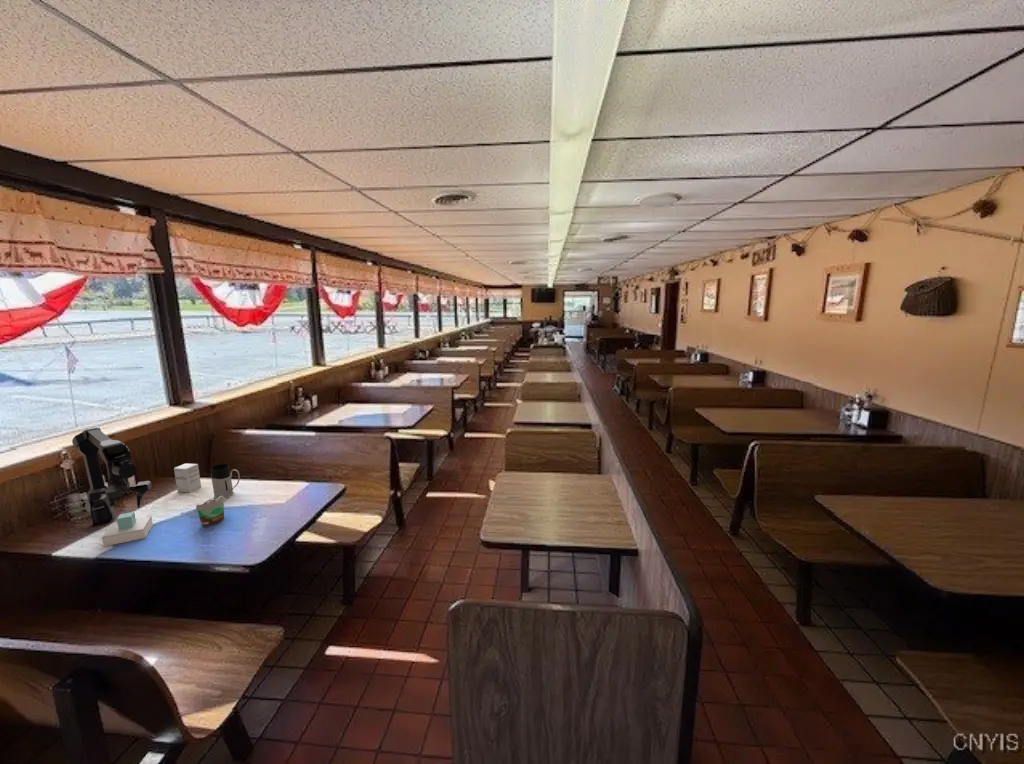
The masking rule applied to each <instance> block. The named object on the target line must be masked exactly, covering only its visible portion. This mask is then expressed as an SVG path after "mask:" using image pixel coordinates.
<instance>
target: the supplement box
mask: <svg viewBox="0 0 1024 764" xmlns="http://www.w3.org/2000/svg"><path fill="white" fill-rule="evenodd" d="M173 470H174V471H173V472H174V477H175V483H176V490H177V492H179V493H180V492H181V493H182V492H183V493H185V492H186V493H191V492H194V491H196V490H198V489H200V488H202V483H201V476H200V469H199V464H198V463H183V464H181V465H178V466H175V467H174V468H173Z"/></svg>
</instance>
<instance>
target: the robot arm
mask: <svg viewBox="0 0 1024 764" xmlns="http://www.w3.org/2000/svg"><path fill="white" fill-rule="evenodd" d="M71 441H72V445H73V447H74V448H75V450H76V451H77V452H78V453H79V454H81V455H82V457H83V462H84V466H85V470H86V474H87V479H88V483H89V490H88V492H87V493H86V500H85V504H84V509H85V511H86V512H88V513H90V515H91V516H90V517H91V521H92V523H91V524H90V526H96V525H97V526H98V525H103V524H107V523H111V522H112V521H113V519H114V518H116V516H115V512H114V507H113V506H115V505H116V503H115V502H116V498H121V497H123V496H124V494H125V493H129V492H132V491H135V492H136V493H135V497H136V504H137V506H136V507H137V509H140V507H141V504H142V500H143V496H144V494H146V493H147V492H149V491H150V489H152V482H151V481H150V480H145V481H138V482H137V484H135V485H131V483H130V481H129V479H130V478H133V477H134V476H135V475H136V473H137V466H136V465H135V464H133V463H130V461H129V460H131V459H132V452H131V451H130V450H129V447H128V446H127V445H126V444H125V443H123V442H122V441H120V440H118V439H112V438H110V437H109V436H108V435H106V434H105V433H104V432H103V431H102V430H101V428H100V427H96V426H95V427H92V428H88V429H86V428H85V429H84V430H82V432H80V433H78V434H76V435H74V437H73V438H72V440H71ZM98 453H99V455H98ZM99 456H100V458H101V460H102V461H103V462H104V464H105V465H106V470H107V477H108V480H107V482H108V483H107V485H106V484H105V480H104V476H103V473H102V472H103V471H102V468H101V463H100V460H99Z"/></svg>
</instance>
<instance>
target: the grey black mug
mask: <svg viewBox="0 0 1024 764" xmlns="http://www.w3.org/2000/svg"><path fill="white" fill-rule="evenodd" d="M234 471H235V472H236V473H237V481H236V484H235V485H234V486H233V481H232V477H233V472H234ZM210 473H211V474H210V477H211V478H210V479H211V482H212V483H211V484H212V489H213V498H215V497H217V496H218V494H222V495H223V496H224V498H226V499H228V497H229V498H231V497H230V496H232V495H233V494H234V495H235V492H234V489H235V488H236V487H237V486H238V485H239V483H240V480H241V479H240V478H241V476H240V475H241V474H240V471H239V470H237V469H235V468H234V469H232V470H231V471H230V465H229V464H228V463H222V464H221V463H220V464H216V465H213V466H211V467H210ZM234 495H233V496H234ZM233 496H232V497H233Z"/></svg>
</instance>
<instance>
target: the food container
mask: <svg viewBox="0 0 1024 764" xmlns="http://www.w3.org/2000/svg"><path fill="white" fill-rule="evenodd" d="M225 501H226V499H225V498H224V496H223V495H222V494H218V496H217V497H215V498H214V497H213V498H210V499H208V500H206V501H205V502H204V503H202V504H196V506H195V510H196V511H197V513H198V516H199V521H200V524H201V525H200V526H202V527H207V526H208V527H209V526H214V525H216V524H217V525H218V523H219V524H220V522H222V521H223V520H225V509H224V507H225V505H224V502H225Z"/></svg>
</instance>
